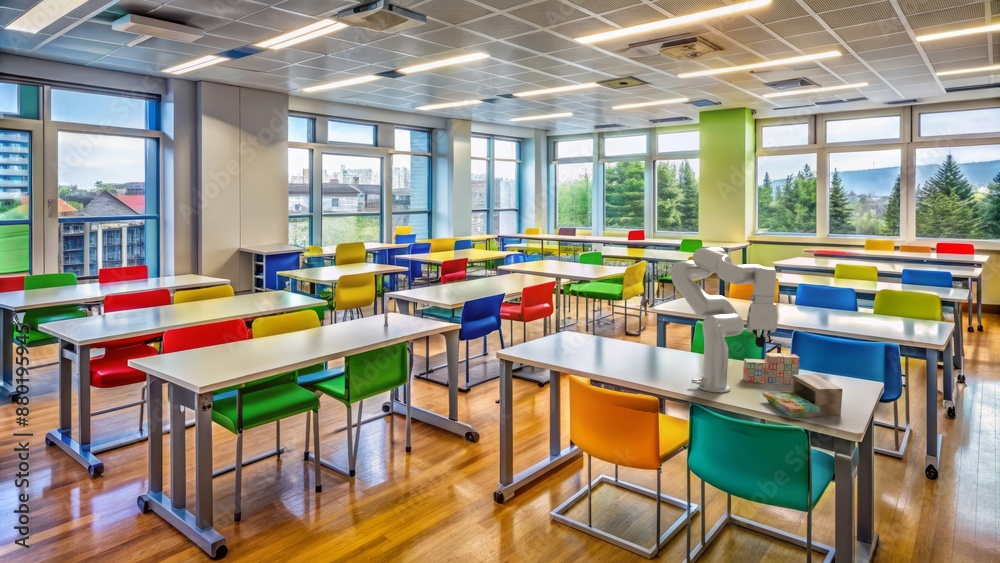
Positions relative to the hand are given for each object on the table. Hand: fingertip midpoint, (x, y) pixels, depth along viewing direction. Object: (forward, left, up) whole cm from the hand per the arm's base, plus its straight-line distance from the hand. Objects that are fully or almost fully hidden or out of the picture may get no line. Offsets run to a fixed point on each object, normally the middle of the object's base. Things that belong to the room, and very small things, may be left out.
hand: (759, 346), depth 231 cm
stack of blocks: (+19, +31, -23) cm, 43 cm away
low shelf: (+21, -3, -23) cm, 31 cm away
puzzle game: (+10, -5, -24) cm, 26 cm away
